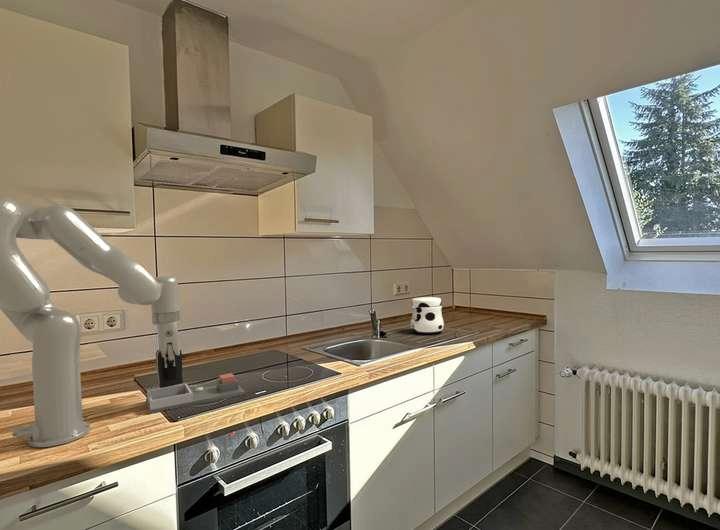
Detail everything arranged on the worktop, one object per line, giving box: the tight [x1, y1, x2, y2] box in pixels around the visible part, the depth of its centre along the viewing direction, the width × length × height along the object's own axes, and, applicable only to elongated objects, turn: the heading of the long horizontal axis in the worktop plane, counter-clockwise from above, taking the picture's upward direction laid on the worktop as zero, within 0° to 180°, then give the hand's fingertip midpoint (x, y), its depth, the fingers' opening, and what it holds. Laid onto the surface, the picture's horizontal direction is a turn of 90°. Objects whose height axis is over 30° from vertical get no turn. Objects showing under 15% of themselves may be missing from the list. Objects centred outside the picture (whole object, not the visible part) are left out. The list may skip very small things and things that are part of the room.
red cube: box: [218, 372, 236, 384], centre depth 132 cm, size 4×4×4 cm
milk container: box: [410, 296, 445, 335], centre depth 219 cm, size 17×17×18 cm
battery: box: [155, 347, 184, 388], centre depth 124 cm, size 7×4×11 cm, turn 130°
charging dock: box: [145, 378, 246, 415], centre depth 128 cm, size 27×12×4 cm, turn 121°
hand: (169, 377), depth 124 cm, fingers closed on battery, 4 cm apart
